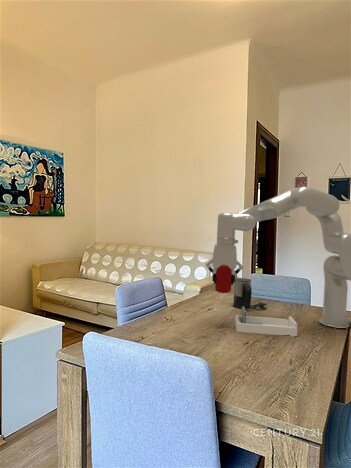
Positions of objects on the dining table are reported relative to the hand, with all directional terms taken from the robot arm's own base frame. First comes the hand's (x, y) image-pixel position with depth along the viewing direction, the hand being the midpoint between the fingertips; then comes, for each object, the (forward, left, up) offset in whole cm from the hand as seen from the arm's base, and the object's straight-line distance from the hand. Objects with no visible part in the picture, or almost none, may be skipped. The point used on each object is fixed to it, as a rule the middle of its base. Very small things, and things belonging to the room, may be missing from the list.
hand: (223, 283), depth 138 cm
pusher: (-13, 0, -17) cm, 22 cm away
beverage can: (0, 0, -4) cm, 4 cm away
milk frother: (-15, -35, -19) cm, 42 cm away
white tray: (-18, 0, -19) cm, 26 cm away
